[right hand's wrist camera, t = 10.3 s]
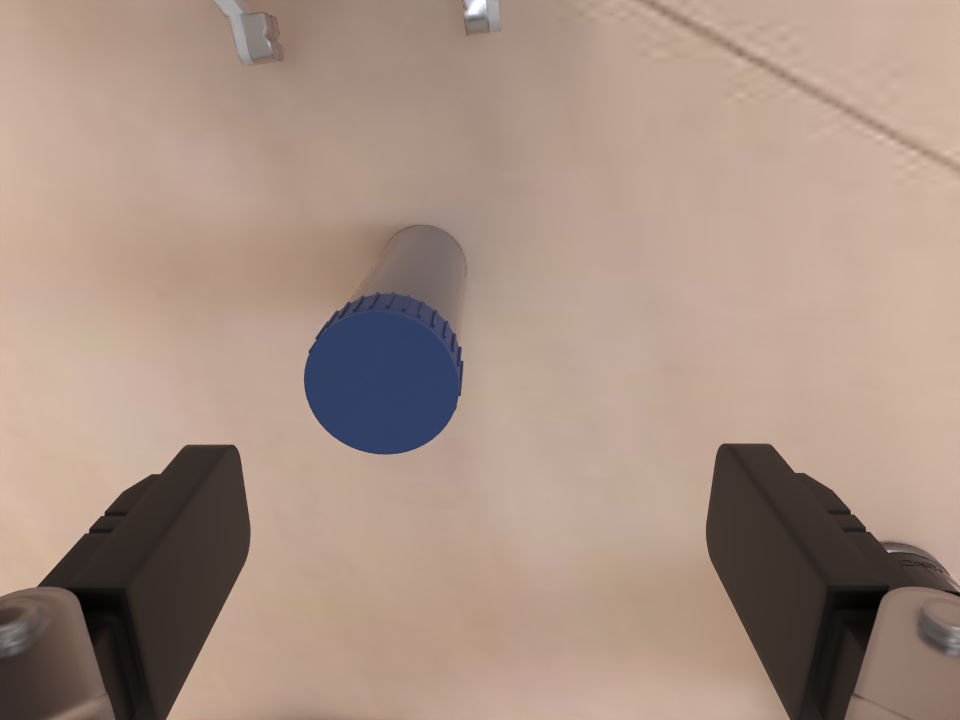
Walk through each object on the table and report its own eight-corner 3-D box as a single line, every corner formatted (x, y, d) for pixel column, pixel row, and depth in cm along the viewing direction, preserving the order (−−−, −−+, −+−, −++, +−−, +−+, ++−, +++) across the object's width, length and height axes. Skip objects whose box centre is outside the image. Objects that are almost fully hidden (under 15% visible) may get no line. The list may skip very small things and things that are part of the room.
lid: (469, 297, 23) (467, 317, 21) (457, 432, 25) (454, 463, 23) (318, 284, 23) (301, 302, 21) (317, 420, 25) (301, 450, 23)
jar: (469, 229, 37) (460, 319, 22) (462, 311, 39) (448, 450, 23) (383, 220, 37) (312, 306, 22) (379, 304, 39) (311, 438, 23)
